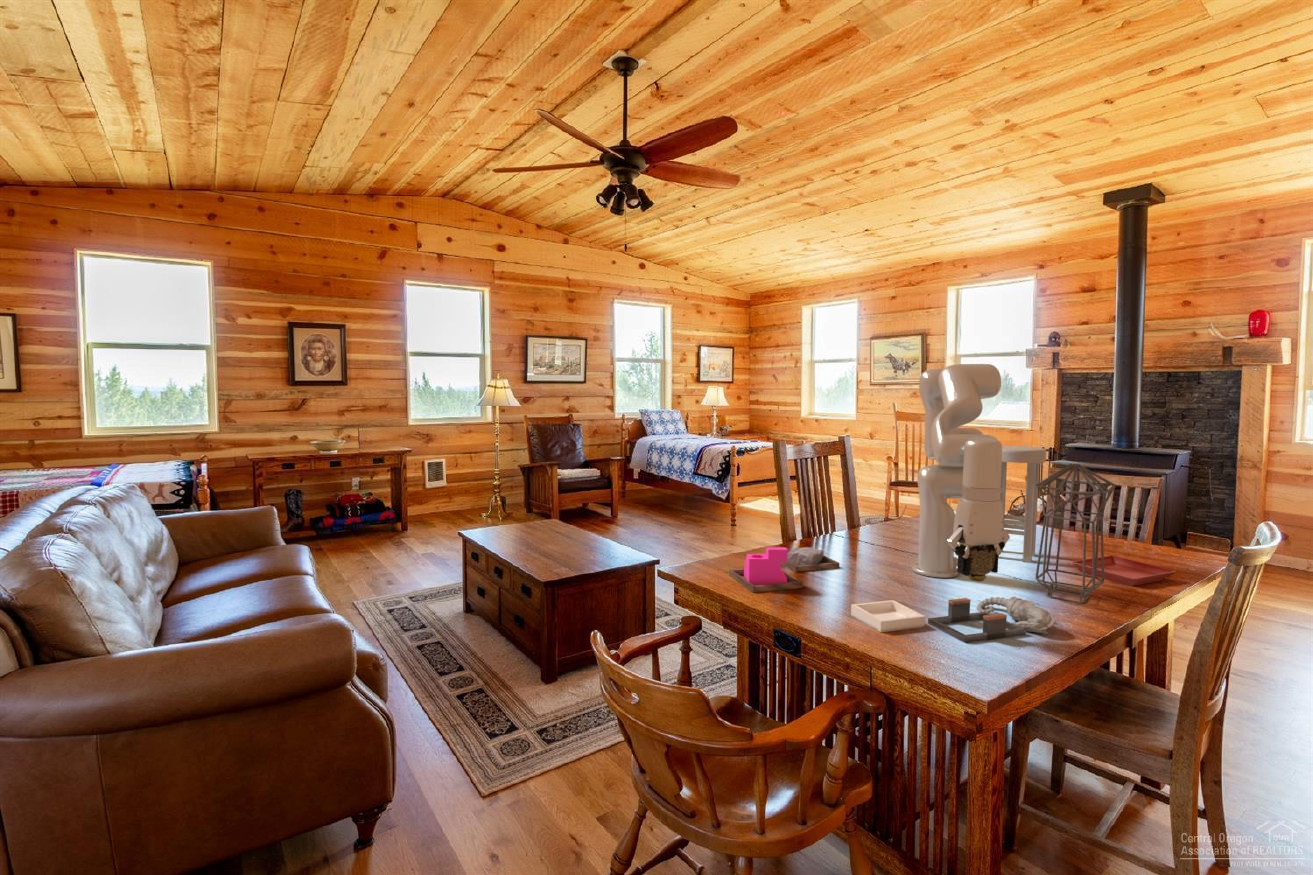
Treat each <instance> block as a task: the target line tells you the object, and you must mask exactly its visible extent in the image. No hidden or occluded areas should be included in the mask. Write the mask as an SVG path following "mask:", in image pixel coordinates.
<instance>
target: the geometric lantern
mask: <svg viewBox="0 0 1313 875" xmlns="http://www.w3.org/2000/svg"><path fill="white" fill-rule="evenodd" d="M1066 473H1068V474H1067V475H1066V477H1065V478H1064V479H1063V478H1061V477H1062V476H1064V475H1065V474H1066ZM1080 473H1081V474H1082V476H1083V478H1084V479H1085V481H1080ZM1071 475H1072V480H1068V479H1069V478H1070V476H1071ZM1099 479H1100V480H1101V481H1102V482H1101V481H1099ZM1054 481H1056V482H1057V483H1059V484H1060V485H1059V486H1058V487H1052V486H1051V483H1053V482H1054ZM1066 483H1067V484H1071V487H1070V486H1069V485H1067V484H1066ZM1080 484H1082V485H1089V487H1088V491H1078V490H1079V486H1080ZM1075 485H1076V488H1075ZM1034 486H1035V487H1037V488H1038V492H1040V495H1041V502H1042V503H1041V505H1042V512H1043V513H1042V514H1043V515H1042V516H1044V517H1043V524H1042V531H1041V537H1040V543H1039V544H1040V545H1039V551H1038V557H1037V558H1038V559H1037V565H1036V571H1035V578H1034V579H1035V580H1036V581H1037V582H1038V583H1039V585H1041V586H1042V587H1044V588H1045V589H1046V591H1047V594H1046V595H1045V596H1046V597H1047V598H1051V599H1057V600H1061V601H1067V602H1072V603H1077V604H1086V602H1087V601H1088V599H1089V596H1090V594H1091V593H1092V592H1095V591H1096V590H1097V589H1098V588H1099V587H1100V586H1102V585H1103V583H1105V579H1104V556H1105V554H1104V552H1105V551H1104V549H1105V548H1104V517H1103V516H1104V511H1105V508H1106V505H1107V503H1108V501H1109V499H1110V497H1111V496H1112V493H1113V492H1114V490H1115V488H1116V484H1115V483H1113V482H1111V481H1110V480H1108V479H1106V478H1104V477H1103V476H1100V475H1099V474H1097V473H1095V472H1093V471H1091V470H1090V469H1088V468H1086V467H1084V466H1083V465H1082V464H1079V463H1070V464H1068V465H1067V466H1065V467H1063V468H1062V469H1060V470H1058V471H1056V472H1055V473H1053V474H1051V475H1050V476H1048V477H1046V478H1045V479H1043V480H1040V481H1038V483H1037V484H1035V485H1034ZM1063 486H1064V487H1065V488H1067V489H1068V490H1070V491H1065V490H1062V488H1063ZM1110 486H1111V487H1110ZM1108 487H1110V488H1109V489H1108ZM1074 488H1075V489H1074ZM1091 488H1092V489H1093V490H1094V491H1091ZM1051 490H1053V491H1056V495H1054V494H1053V493H1052V492H1050V491H1051ZM1100 491H1101V492H1100ZM1059 493H1061V494H1066V495H1067V494H1068V496H1069V497H1068V499H1067V500H1061V499H1060V498H1059ZM1100 494H1101V495H1102V503H1101V506H1100V507H1099V508H1098V506H1097V504H1096V502H1095V500H1094V499H1093V497H1094V496H1096V495H1100ZM1049 495H1050V498H1051V500H1052V502H1053V504H1054V506H1055V507H1054V508H1051V509H1049V510H1048V511H1046V507H1045V496H1049ZM1075 495H1080V496H1081V497H1079V498H1076V499H1073V497H1074V496H1075ZM1088 498H1090V499H1091V502H1092V503H1093V505H1094V507H1095V508H1096V510H1097V512H1089V511H1080V510H1079V507H1077V505H1076V504H1075V503H1077V502H1079V501H1083V500H1086V499H1088ZM1072 499H1073V500H1072ZM1055 500H1056V501H1057V503H1058V504H1057V503H1056V501H1055ZM1061 504H1063V505H1062V506H1061V507H1060V508H1059V506H1060V505H1061ZM1068 504H1072V505H1073V507H1074V510H1073V509H1066V508H1065V507H1066V506H1067V505H1068ZM1064 511H1065V512H1073V513H1077V514H1078V516H1080V520H1079V519H1075V518H1074V519H1073V518H1066V517H1064ZM1057 512H1060V516H1056V515H1057ZM1048 513H1050V514H1048ZM1083 514H1089V515H1095V517H1094V518H1093V520H1086V519H1085V518H1084V516H1083ZM1050 518H1051V519H1052V520H1051V521H1052V522H1051V530H1050V538H1049V524H1050ZM1056 519H1059V520H1060V522H1059V531H1058V542H1057V552H1056V562H1055V569H1051V568H1049V567H1050V560H1051V553H1052V546H1053V538H1054V530H1055V524H1056V523H1055V522H1056ZM1081 519H1082V520H1081ZM1063 520H1065V521H1066V520H1067V521H1074V522H1079V523H1083V542H1082V543H1083V547H1082V550H1083V551H1082V553H1083V554H1082V560H1083V573H1078V572H1073V571H1068V570H1067V571H1066V570H1060V569H1059V563H1060V554H1061V553H1060V552H1061V551H1060V550H1061V542H1062V531H1063V530H1062V529H1063V522H1064V521H1063ZM1095 523H1096V524H1095ZM1087 524H1091V542H1092V543H1091V550H1092V551H1091V552H1092V553H1091V558H1092V575H1090V574H1086V573H1085V562H1086V559H1087V558H1086V557H1087V556H1086V555H1087V554H1086V553H1087ZM1095 525H1096V526H1095ZM1095 528H1096V530H1095ZM1095 531H1096V532H1095ZM1095 534H1096V535H1095ZM1048 539H1049V544H1048ZM1099 539H1100V557H1101V569H1102V578H1101V577H1097V561H1098V557H1099ZM1043 544H1044V548H1043ZM1047 549H1048V552H1047ZM1043 550H1044V551H1043ZM1042 552H1043V561H1042V562H1043V563H1042V564H1043V565H1042V572H1041V573H1040V567H1041V565H1040V564H1041V557H1042ZM1049 572H1054V579H1053V578H1052V575H1051V574H1050V573H1049ZM1057 572H1058V573H1062V574H1068V575H1074V576H1079V577H1082V582H1081V583H1082V585H1079V584H1072V583H1067V582H1060V581H1058V579H1057ZM1039 573H1040V574H1039ZM1046 573H1047V576H1048V577H1049V579H1050V580H1051V581H1047V580H1046ZM1086 578H1089V579H1090V580H1089V582H1088V583H1087V584H1086ZM1096 580H1098V582H1097V583H1096ZM1090 584H1092V586H1090ZM1048 585H1049V586H1048ZM1058 587H1061V588H1066V589H1070V590H1071V591H1070V590H1065V589H1060V588H1058ZM1079 587H1080V588H1079ZM1072 590H1075V591H1072ZM1077 591H1079V592H1077ZM1053 592H1055V593H1060V594H1065V595H1070V596H1076V597H1079V601H1077V600H1073V599H1067V598H1061V597H1057V596H1053ZM1082 597H1083V600H1082Z"/></svg>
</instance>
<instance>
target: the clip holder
mask: <svg viewBox="0 0 1313 875" xmlns="http://www.w3.org/2000/svg"><path fill="white" fill-rule="evenodd" d="M947 603H948V606H947V608H948V609H947V616H946V615H945V616H937V617H928V618H927V624H928V625H930V626H932V627H934V628H936V629H938V630H940V631H942V632H944V633H945V634H948V635H950V636H951V637H953V638H955V639H957V640H959V641H961V642H963V643H965V644H968V643H977V642H984V641H992V640H997V639H1006V638H1013V637H1020V636H1022V637H1023V636H1026V635H1027V631H1026V629H1024V628H1021V627H1019V626H1017V625H1015V624H1012V623H1013V622H1010V621H1008V620H1007V618H1008V615H1007V614H1005V613H1002V612H1000V613H987V612H979V611H978V612H971V599H969V598H967V597H963V598H953V599H948V600H947ZM978 620H979V621H980V620H982V632H978V633H970V634H964V633H962V632H960V631H958V630H957V629H955V628H953V627H951V626H949V625H947V624H952V623H961V622H969V621H978Z"/></svg>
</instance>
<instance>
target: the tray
mask: <svg viewBox="0 0 1313 875" xmlns="http://www.w3.org/2000/svg"><path fill="white" fill-rule="evenodd" d="M850 612H851V613H850V615H851V616H852V617H854V618H856V619H857V620H859V621H860V622H862V623H864V624H865V625H867V626H869V627H871V628H872V629H874V630H876V631H877V632H879V633H887V632H895V631H896V632H897V631H902V630H903V631H906V630H911V629H912V630H913V629H919V628H920V629H921V628H925V627H926V616H925V615H924V614H921V613H920V612H917V611H916V610H914V609H911V608H910V607H908V606H906V605H903V604H901V603H900V602H897V601H896V600H893V599H889V600H882V601H872V602H871V601H870V602H863V603H853V604H851V605H850Z"/></svg>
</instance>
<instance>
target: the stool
mask: <svg viewBox="0 0 1313 875" xmlns="http://www.w3.org/2000/svg"><path fill="white" fill-rule="evenodd" d="M1046 462H1047V449H1046V448H1043V447H1039V446H1037V447H1036V446H1026V445H1024V446H1023V445H1002V468H1001V487H1000V488H1001V489H1002V493H1001V494H1000V501H1001V503H1002V509H1003V521H1004V530H1005V531H1006V532H1007V533H1008V534H1009V535H1016V536H1023V546H1022V547H1023V550H1022V563H1028V564H1031V563H1032V559H1033V557H1035V556H1036V540H1037V521H1038V520H1037V518H1038V498H1039V497H1038V496H1039V489H1038V488H1037V487H1035V486H1034V485H1035V484H1037V483H1039V479H1040V478H1039V477H1040V464H1041V463H1046ZM1008 463H1016V464H1020V463H1021V464H1027V465H1026V480H1025V481H1026V484H1025V501H1024V502H1025V505H1024V506H1025V508H1024V516H1023V515H1015V514H1014V515H1013V514H1005V513H1006V496H1007V495H1006V492H1007V491H1006V490H1007V489H1006V488H1007V472H1008V471H1007V470H1008V469H1007V468H1008V467H1007V466H1008V465H1007V464H1008ZM1003 551H1004V548H1003V549H1002V550H1001V553H1003ZM999 557H1000V555H998V558H999Z"/></svg>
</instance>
